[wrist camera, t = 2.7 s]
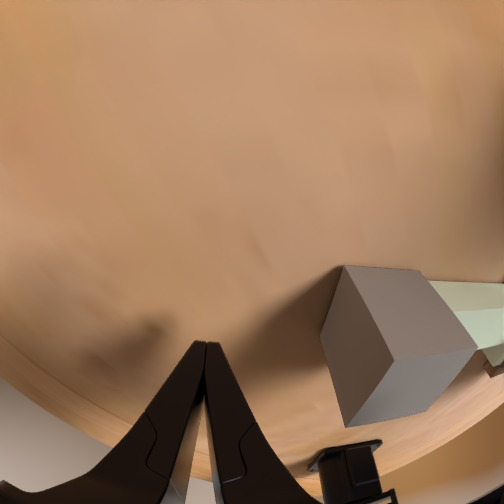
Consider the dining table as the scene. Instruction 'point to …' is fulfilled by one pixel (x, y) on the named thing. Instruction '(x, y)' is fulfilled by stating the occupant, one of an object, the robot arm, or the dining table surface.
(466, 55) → the dining table surface
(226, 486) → the robot arm
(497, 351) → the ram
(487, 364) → the bay
